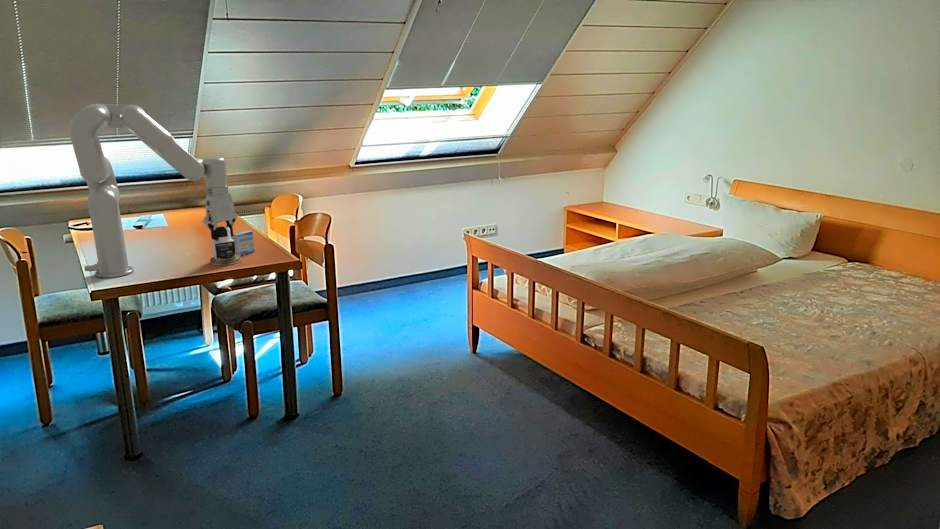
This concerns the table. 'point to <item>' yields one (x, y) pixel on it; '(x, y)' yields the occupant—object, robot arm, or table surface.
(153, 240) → the table surface
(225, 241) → the medicine bottle
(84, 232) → the table surface
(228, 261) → the grey flat disc
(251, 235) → the medicine box
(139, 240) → the table surface
